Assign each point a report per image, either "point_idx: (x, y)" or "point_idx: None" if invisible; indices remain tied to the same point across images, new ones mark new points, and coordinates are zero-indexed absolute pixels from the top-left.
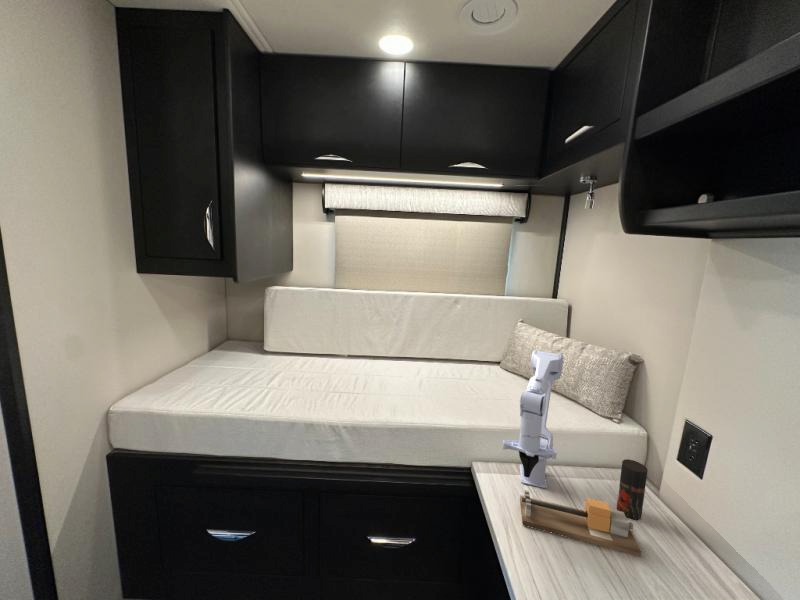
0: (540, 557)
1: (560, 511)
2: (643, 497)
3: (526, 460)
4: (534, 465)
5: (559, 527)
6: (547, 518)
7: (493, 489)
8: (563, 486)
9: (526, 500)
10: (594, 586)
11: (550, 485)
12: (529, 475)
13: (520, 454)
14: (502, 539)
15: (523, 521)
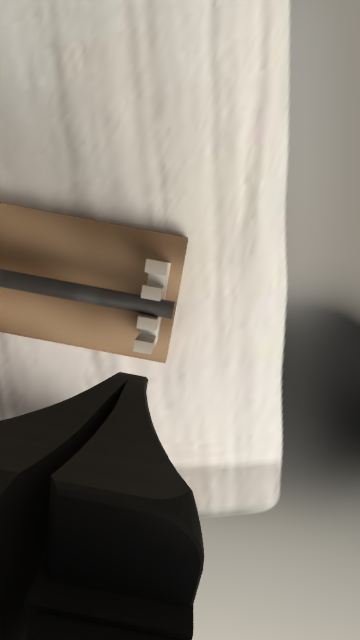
0: (162, 102)
1: (38, 306)
2: None
3: (96, 468)
4: (19, 417)
5: (60, 226)
6: (93, 263)
7: (248, 391)
8: None
9: (160, 288)
10: (11, 10)
11: None
12: (113, 375)
13: (173, 596)
14: (278, 159)
15: (185, 237)
